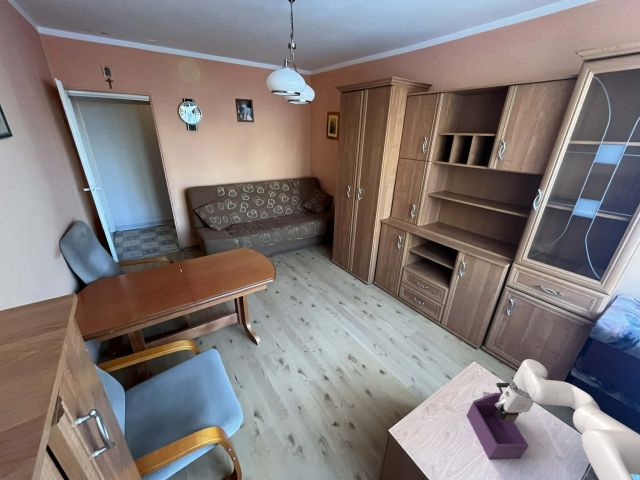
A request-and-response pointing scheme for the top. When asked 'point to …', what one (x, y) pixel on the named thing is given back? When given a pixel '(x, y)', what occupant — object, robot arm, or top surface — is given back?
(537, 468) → the top surface
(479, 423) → the file box
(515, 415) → the block
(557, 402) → the robot arm
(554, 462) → the top surface
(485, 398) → the file box lid
